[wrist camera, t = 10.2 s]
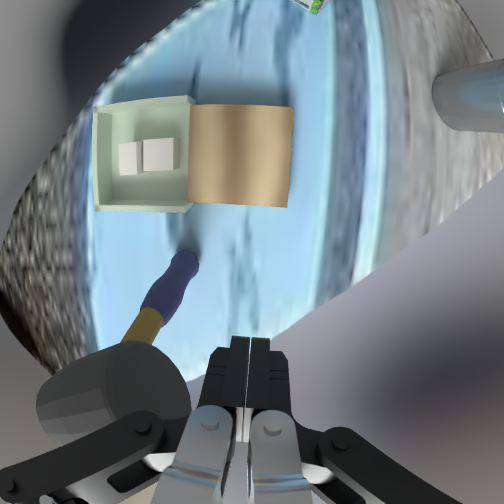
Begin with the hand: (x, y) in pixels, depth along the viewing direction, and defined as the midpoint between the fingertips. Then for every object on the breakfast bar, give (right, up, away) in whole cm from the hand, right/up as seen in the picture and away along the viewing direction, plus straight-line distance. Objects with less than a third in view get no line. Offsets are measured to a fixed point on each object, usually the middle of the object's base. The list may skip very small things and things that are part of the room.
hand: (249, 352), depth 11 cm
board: (-1, +16, +23) cm, 28 cm away
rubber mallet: (-9, +3, +28) cm, 30 cm away
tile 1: (-11, +17, +22) cm, 30 cm away
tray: (-14, +17, +23) cm, 32 cm away
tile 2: (-13, +16, +21) cm, 29 cm away
